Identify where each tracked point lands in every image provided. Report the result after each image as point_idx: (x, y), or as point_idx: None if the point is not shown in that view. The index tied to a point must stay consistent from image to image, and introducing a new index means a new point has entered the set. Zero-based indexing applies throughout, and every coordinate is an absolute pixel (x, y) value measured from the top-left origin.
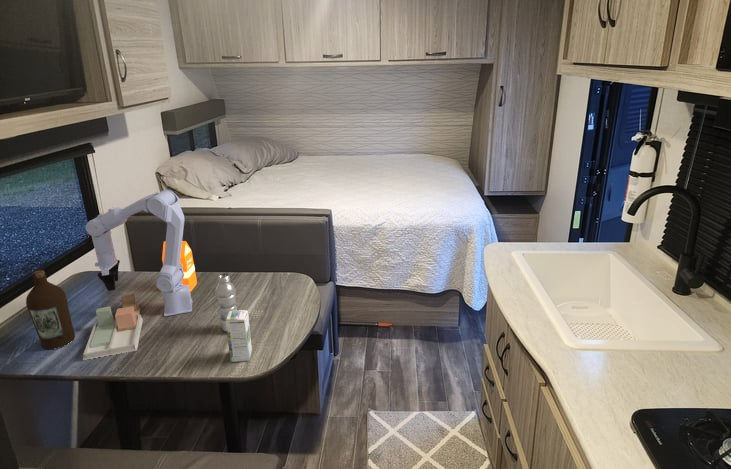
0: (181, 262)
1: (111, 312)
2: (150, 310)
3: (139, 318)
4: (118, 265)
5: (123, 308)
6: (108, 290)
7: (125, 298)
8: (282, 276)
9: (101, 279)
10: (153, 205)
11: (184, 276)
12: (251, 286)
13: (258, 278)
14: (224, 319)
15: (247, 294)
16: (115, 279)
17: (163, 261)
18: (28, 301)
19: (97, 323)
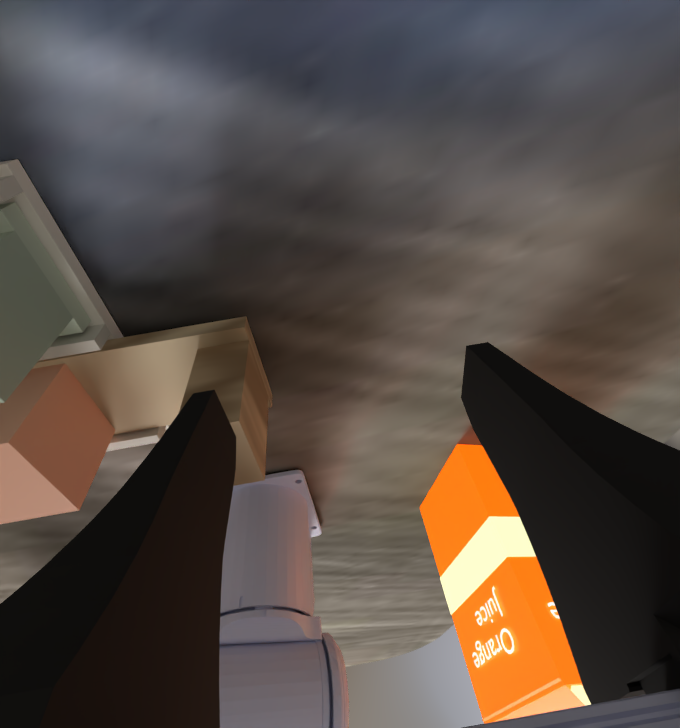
0: (483, 679)
1: (30, 364)
2: (273, 423)
3: (109, 450)
4: (565, 632)
5: (27, 475)
6: (190, 398)
7: None
8: (421, 636)
9: (16, 598)
10: None
11: (448, 581)
12: (387, 609)
13: (435, 610)
14: None
15: (335, 611)
16: (471, 398)
17: (545, 654)
18: None
19: (7, 197)
